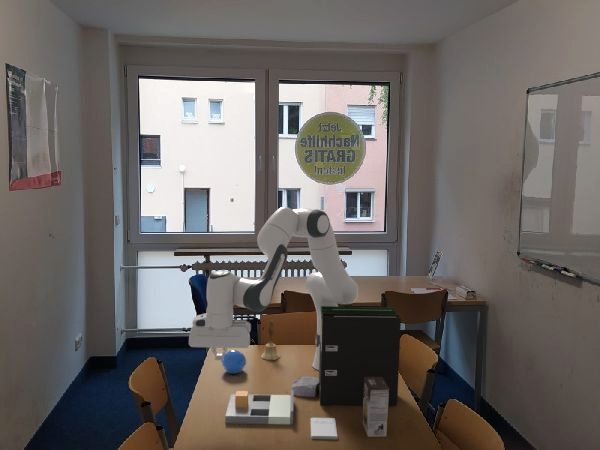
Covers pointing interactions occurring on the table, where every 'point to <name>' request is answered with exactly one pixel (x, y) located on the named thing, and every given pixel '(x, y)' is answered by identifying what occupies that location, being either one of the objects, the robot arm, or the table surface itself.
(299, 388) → the stone block
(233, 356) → the blue ball
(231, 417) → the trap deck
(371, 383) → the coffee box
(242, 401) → the block
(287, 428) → the table surface
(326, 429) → the external hard drive
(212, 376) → the table surface
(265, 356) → the hand bell
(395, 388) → the binder
